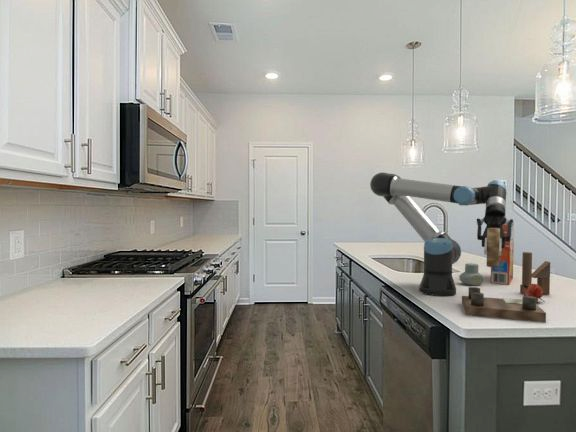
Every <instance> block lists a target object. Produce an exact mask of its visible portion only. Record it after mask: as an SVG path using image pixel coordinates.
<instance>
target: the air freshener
mask: <svg viewBox="0 0 576 432" xmlns="http://www.w3.org/2000/svg"><path fill="white" fill-rule="evenodd" d="M464 265H465V266H464V271H463V272H461V273H460V274H459V277H458V278H459V281H460V282H461V283H462V284H465V285H467V286H471V287H476V286H479V285H482V284H483V283H484V281H485V278H484V275H482V273H479V264H478V263H474V262H469V263H468V262H467V263H465V264H464Z"/></svg>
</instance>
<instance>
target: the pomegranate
mask: <svg viewBox="0 0 576 432" xmlns="http://www.w3.org/2000/svg"><path fill="white" fill-rule="evenodd" d="M523 287H525V289H524V290H523V293H522V294H523V295H522V296H532V297H536V303H537V302H538V301H539V300H540V301H542V302H544V303H545V302H546V301H545V300H543V299H542V297H543V296H544V295H543V289H542V288H541V286H539V285H538V284H537V283H531V284H530V285H527V286H525V285H524V286H523Z"/></svg>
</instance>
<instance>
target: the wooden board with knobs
mask: <svg viewBox="0 0 576 432" xmlns="http://www.w3.org/2000/svg"><path fill="white" fill-rule="evenodd" d="M462 305H463V306H462ZM461 306H462V308H463V312H464V313H465V316H471V315H472V317H473V316H474V317H483V318H494V319H495V318H497V319H504V320H505V319H506V320H507V319H508V320H516V319H517V320H516V321H519V320H520V321H528V320H530V322H539V321H540V322H541V323H546V322H547V312H546V311H545V310H543V308H541V307H540V306H539V305H538V304H537V302H536V297H532V296H524V295H522V299H521V298H520V299H519V298H508V297H502V298H499V297H498V298H497V297H485V293H482V292H481V288H480V287H476V286H469V287H468V295H462V296H461ZM540 322H539V323H540Z"/></svg>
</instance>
